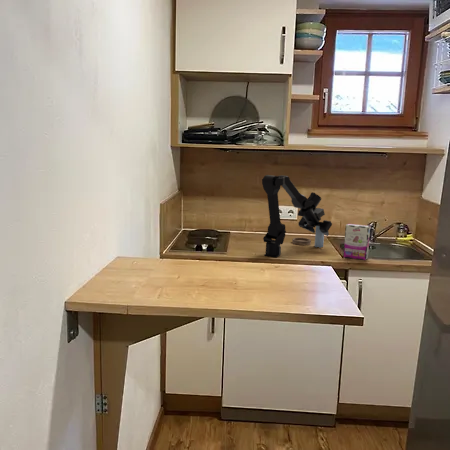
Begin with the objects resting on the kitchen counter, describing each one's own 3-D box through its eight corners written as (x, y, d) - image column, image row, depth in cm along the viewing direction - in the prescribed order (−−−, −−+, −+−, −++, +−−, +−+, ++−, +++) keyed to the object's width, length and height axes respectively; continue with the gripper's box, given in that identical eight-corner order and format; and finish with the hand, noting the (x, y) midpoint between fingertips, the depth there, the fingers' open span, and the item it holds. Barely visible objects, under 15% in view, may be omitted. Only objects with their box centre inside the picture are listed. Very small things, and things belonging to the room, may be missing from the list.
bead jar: (313, 247, 251) (315, 223, 248) (315, 245, 255) (317, 222, 252) (322, 248, 249) (323, 224, 246) (324, 246, 253) (325, 223, 251)
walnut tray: (290, 243, 257) (290, 240, 256) (295, 240, 266) (295, 236, 265) (308, 245, 253) (308, 242, 252) (312, 242, 262) (312, 239, 261)
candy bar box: (368, 258, 230) (371, 225, 227) (365, 260, 225) (369, 227, 222) (345, 255, 235) (347, 223, 232) (342, 257, 231) (345, 224, 228)
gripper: (331, 205, 238) (342, 225, 247) (303, 201, 252) (315, 219, 261) (320, 222, 234) (332, 241, 243) (292, 217, 248) (304, 235, 257)
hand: (321, 233), depth 251 cm, fingers open, 9 cm apart
